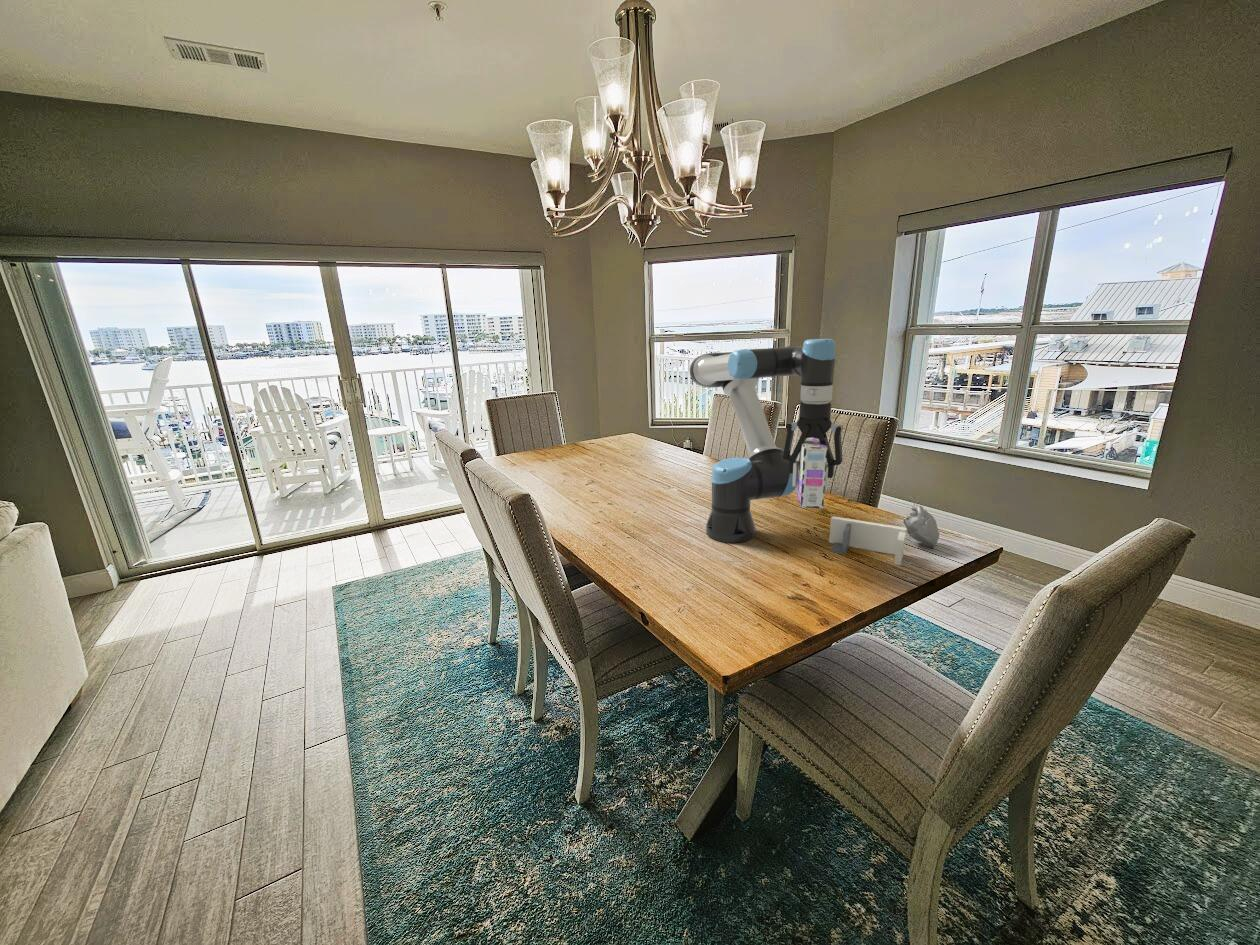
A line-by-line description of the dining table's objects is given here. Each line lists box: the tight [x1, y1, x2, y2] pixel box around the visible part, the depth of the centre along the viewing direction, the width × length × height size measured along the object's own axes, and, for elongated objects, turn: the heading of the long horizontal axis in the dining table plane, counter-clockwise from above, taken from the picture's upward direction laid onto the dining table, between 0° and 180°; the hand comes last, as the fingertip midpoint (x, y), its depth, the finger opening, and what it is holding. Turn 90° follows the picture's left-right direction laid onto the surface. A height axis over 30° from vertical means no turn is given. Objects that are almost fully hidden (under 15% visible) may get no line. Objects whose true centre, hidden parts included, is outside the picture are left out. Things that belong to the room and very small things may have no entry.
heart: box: [902, 504, 940, 548], centre depth 134 cm, size 10×10×12 cm
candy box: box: [795, 436, 828, 509], centre depth 129 cm, size 14×6×16 cm, turn 167°
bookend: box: [829, 523, 851, 555], centre depth 135 cm, size 4×6×7 cm, turn 147°
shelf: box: [828, 516, 907, 566], centre depth 133 cm, size 19×8×8 cm, turn 57°
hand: (810, 486), depth 128 cm, fingers closed on candy box, 7 cm apart
